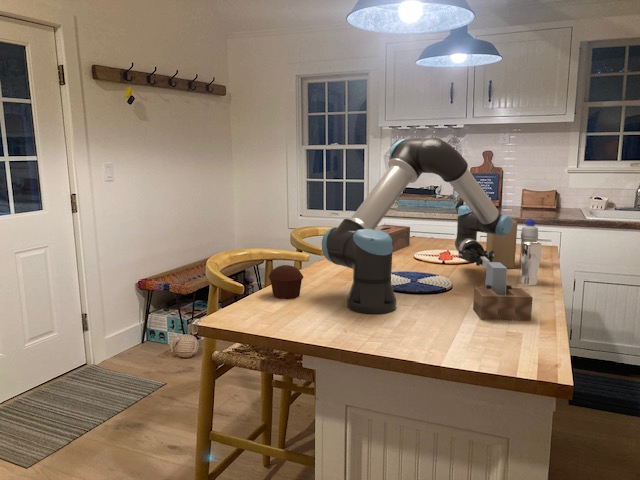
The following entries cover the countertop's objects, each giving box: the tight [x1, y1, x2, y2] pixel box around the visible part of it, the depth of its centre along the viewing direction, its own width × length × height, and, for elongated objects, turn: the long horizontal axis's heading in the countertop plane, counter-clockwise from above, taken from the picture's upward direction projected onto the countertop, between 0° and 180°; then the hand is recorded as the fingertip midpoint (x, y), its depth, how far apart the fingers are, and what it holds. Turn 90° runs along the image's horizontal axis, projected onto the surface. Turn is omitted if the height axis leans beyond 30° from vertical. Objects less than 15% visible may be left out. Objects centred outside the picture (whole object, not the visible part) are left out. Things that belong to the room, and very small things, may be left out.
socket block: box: [472, 284, 533, 322], centre depth 153 cm, size 14×10×8 cm
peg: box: [484, 262, 508, 295], centre depth 161 cm, size 4×8×13 cm, turn 176°
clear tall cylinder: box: [519, 242, 542, 287], centre depth 189 cm, size 7×7×15 cm
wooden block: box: [485, 217, 518, 270], centre depth 216 cm, size 10×10×20 cm
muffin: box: [268, 264, 304, 301], centre depth 172 cm, size 12×11×10 cm
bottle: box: [519, 219, 539, 267], centre depth 214 cm, size 7×7×20 cm
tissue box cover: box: [374, 224, 411, 254], centre depth 255 cm, size 26×14×10 cm, turn 148°
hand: (487, 264), depth 172 cm, fingers closed
